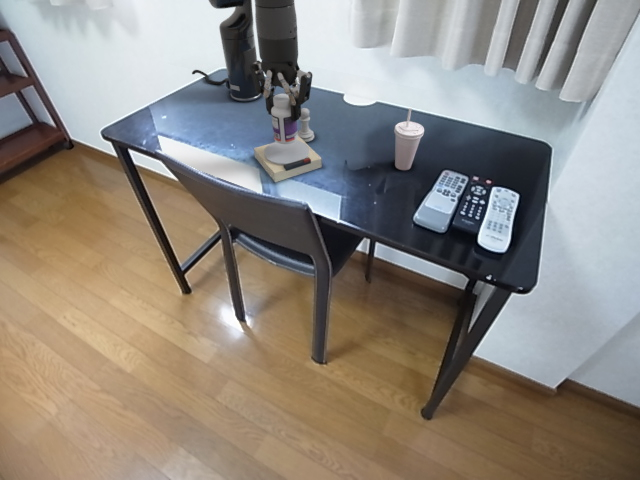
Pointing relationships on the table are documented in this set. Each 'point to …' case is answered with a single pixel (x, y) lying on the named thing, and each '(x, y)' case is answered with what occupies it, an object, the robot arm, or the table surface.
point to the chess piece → (305, 126)
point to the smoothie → (406, 142)
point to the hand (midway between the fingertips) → (284, 116)
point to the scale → (287, 159)
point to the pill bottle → (283, 120)
